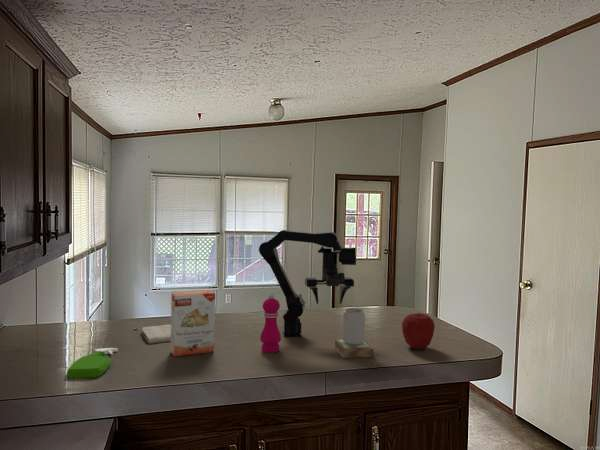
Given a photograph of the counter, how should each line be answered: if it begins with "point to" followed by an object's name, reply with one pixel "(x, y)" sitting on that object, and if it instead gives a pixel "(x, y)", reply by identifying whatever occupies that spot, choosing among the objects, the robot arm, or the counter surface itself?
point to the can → (354, 326)
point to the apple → (418, 330)
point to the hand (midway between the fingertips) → (328, 303)
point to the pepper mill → (270, 326)
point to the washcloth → (157, 333)
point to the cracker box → (192, 322)
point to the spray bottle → (91, 364)
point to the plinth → (353, 349)
